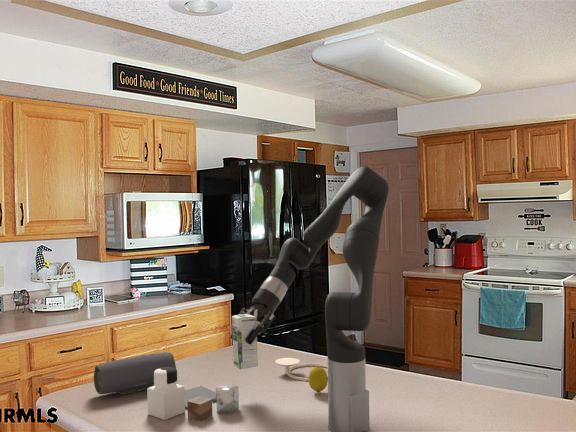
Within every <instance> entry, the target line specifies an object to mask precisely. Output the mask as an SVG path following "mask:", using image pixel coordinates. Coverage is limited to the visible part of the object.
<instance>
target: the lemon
mask: <svg viewBox="0 0 576 432" xmlns="http://www.w3.org/2000/svg"><path fill="white" fill-rule="evenodd" d="M327 377H328V372H327V371H326V370H325V369H324V367H320V366H313V368H311V370H310V372H309V373H308V378H309V381H308V384H309V387H310V388H311V389H312V390H313V391H315V393H317V394H319V393H321V391H324V390H325V389H326V388H327V387H328V378H327Z"/></svg>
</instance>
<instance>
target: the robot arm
mask: <svg viewBox="0 0 576 432" xmlns="http://www.w3.org/2000/svg"><path fill="white" fill-rule="evenodd" d="M389 186H390V185H389V183H388V182H387V180H386V179H385V178H383V176H382V175H380V174H379V173H377V172H376V171H374V170H373V168H370V167H369V166H366V165H362V166H359V167H358V168H357V169H355V171H353V173H352V174H350V176H349V177H347V179H346V181H345V182H344V183H343V185H342V186H341V187H340V189H339V190H338V191H337V192H336V194H335V195H334V197H333V198H332V200H331V201H330V202H329V204H328V205H327V206H326V208H325V209H324V210H323V211H322V213H321V214H320V215H319V216H318V217H317V218H316V219H315V220H314V221H313V222H311V224H309V226H307V227H306V228H305V230H304V231H303V234H302V235H303V238H304V240H305V242H306V243H307V245H308V246H309V247H307V246H306V245H305V244H304V243H303V242H301V241H300V240H299V239H297V238H296V237H290V238H288V239H286V240H285V241H284V242H283V244H282V246H281V249H280V252H279V256H278V259H277V260H276V264H275V266H274V267H273V269H272V270H271V272H270V274H269V275H268V277H267V278H266V279H265V280H264V281H263V283H262V284H261V285H260V287H259V289H258V290H257V291H256V293H255V294H254V295H253V298H252V299H251V304H252V305H251V306H250V307H249V308H248V309H247V308H245V307H242V308H241V310H240V312H239V313H238V315H240V314H248V315H252V316H255V317H256V321H255V324H254V326H253V330H251V331H250V333H249V334H248V336H247V337H246V339H245V341H246V342H247V343H248V344H250V345H251V344H252V342H253V341H254V340H255V338H256V337H257V338H258V335H260V334H261V333H263V334H265V333H267V330H268V329H269V328H270V326H271V324H272V323H273V322H274V321H275V319H276V315H274V313H275V312H276V310H277V308H278V306H279V305H280V304H281V302H282V300H283V299H284V297H285V295H286V293H287V291H288V290H289V288H290V286H291V284H292V283H293V282H294V280H295V278H296V272H295V270H294V269H293V268H292V266H291V264H292V265H293V266H294V267H295V268H297V269H298V270H305V269H307V268H309V266H311V264H312V262H313V261H314V259H315V257H316V255H317V253H318V251H319V250H320V249H321V247H322V246H323V245H324V244H325V243H327V241H328V240H329V239H331V237H332V236H333V235H334V234H335V233H336V232H337V230H338V228H339V226H340V222H341V218H342V214H343V211H344V207H345V205H346V204H347V203H348V201H349V200H350V198H352V197H355V198H357V199H358V201H360V202H362V203H363V204H364V213H363V215H362V216H361V217H358V219H356V220H355V221H353V222H352V223H351V224H350V225H349V226H348V227H347V229H346V231H345V234H344V239H343V245H342V255H343V259H344V261H345V263H346V264H347V266H348V268H349V269H350V271H351V273H352V274H353V276H354V279H355V281H356V282H357V287H358V290H357V292H345V291H332V292H330V293H328V294H327V296H326V299H325V304H324V320H325V333H326V336H325V337H326V352H327V353H326V354H327V365H328V368H327V377H328V382H327V395H328V396H327V398H328V399H327V405H328V406H327V407H328V409H327V410H328V411H327V412H328V429H329V430H330V431H331V432H366V431H369V430H370V428H371V427H370V391H369V390H368V389H366V387H367V386H366V385H367V384H366V383H367V382H366V381H367V380H366V378H367V377H366V376H367V375H366V348H365V346H364V345H363V344H361V343H360V342H357V341H355V340H353V339H351V338H349V337H348V336H347V335H346V334H344V332H343V331H347V332H348V331H349V332H364V331H366V330H367V329H368V328H369V325H370V323H371V318H372V303H373V301H372V300H373V288H374V287H373V285H374V274H375V268H376V263H377V262H376V261H377V258H378V251H379V242H380V233H381V232H380V231H381V226H382V221H383V216H384V215H383V214H384V211H385V206H386V204H387V203H386V202H387V199H388V195H389V190H390V189H389V188H390V187H389ZM229 338H230V339H231V340H232V341H233V332H232V333H231V334H230V337H229Z"/></svg>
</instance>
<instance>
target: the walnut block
mask: <svg viewBox="0 0 576 432" xmlns="http://www.w3.org/2000/svg"><path fill="white" fill-rule="evenodd" d="M187 404H188V409H187V419H190V420H194V421H196V422H197V421H198V422H200V423H201V422H203V421H204V420H207V419H209V418H211V417H213V402H212V399H209V398H205V397H201V396H198V397H196V398H194V399H191V400H189V401H187Z"/></svg>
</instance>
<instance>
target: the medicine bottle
mask: <svg viewBox="0 0 576 432" xmlns="http://www.w3.org/2000/svg"><path fill="white" fill-rule="evenodd" d="M185 390H186V388H185V385H181V384H178V370H177V368H176V369H175V368H173V367H162V368H159V369H157V370H155V371H154V386H152V387H149V388H147V389H146V393H147V396H146V398H147V414H148V415H149V416H152V417H153V418H157V419H160V420H162V421H166V420H168V419H171V418H173V417H176V416H178V415H181V414H183V413H185V412H186V409H185Z"/></svg>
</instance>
